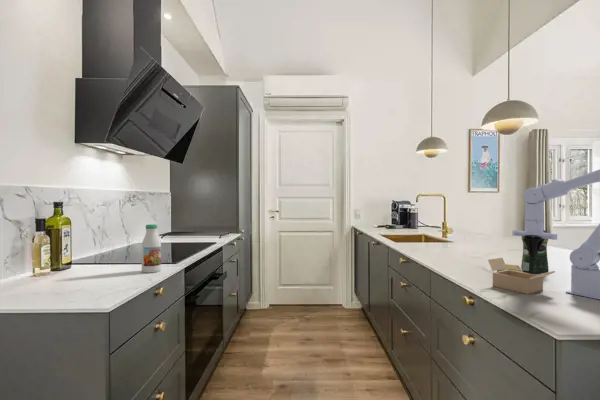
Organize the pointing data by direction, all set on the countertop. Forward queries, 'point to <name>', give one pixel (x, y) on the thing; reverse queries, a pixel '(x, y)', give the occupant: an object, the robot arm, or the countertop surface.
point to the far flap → (497, 264)
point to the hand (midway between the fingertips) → (533, 257)
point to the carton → (512, 268)
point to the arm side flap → (542, 275)
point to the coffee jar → (535, 258)
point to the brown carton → (517, 281)
